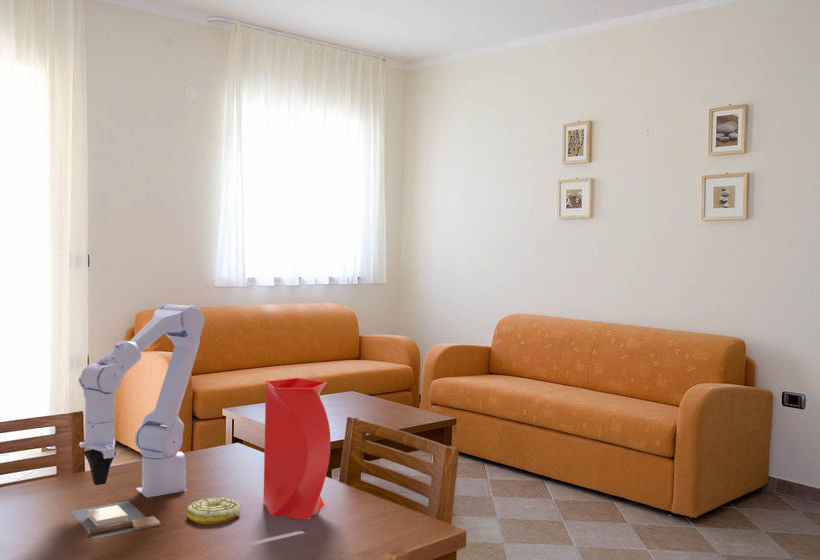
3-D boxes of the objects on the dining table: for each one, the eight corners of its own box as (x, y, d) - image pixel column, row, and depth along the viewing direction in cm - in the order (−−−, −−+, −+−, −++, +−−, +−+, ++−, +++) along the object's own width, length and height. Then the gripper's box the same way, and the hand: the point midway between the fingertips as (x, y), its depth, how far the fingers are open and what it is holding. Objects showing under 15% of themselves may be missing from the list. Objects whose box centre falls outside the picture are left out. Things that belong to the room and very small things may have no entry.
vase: (337, 510, 163) (340, 385, 162) (285, 527, 152) (288, 393, 151) (295, 494, 173) (297, 375, 172) (242, 508, 163) (245, 382, 162)
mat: (128, 503, 164) (128, 500, 164) (155, 528, 150) (155, 526, 150) (70, 514, 157) (70, 511, 157) (93, 541, 142) (93, 538, 142)
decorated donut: (249, 520, 157) (250, 502, 157) (205, 533, 149) (205, 514, 149) (222, 507, 164) (222, 490, 164) (178, 519, 156) (178, 501, 156)
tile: (117, 505, 157) (127, 514, 151) (117, 512, 157) (127, 522, 151) (87, 510, 153) (96, 520, 148) (87, 517, 153) (96, 528, 148)
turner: (153, 518, 154) (153, 512, 154) (160, 524, 150) (160, 518, 150) (87, 532, 146) (87, 525, 146) (93, 539, 142) (93, 532, 142)
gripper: (71, 416, 160) (71, 478, 160) (89, 430, 148) (88, 496, 149) (105, 412, 164) (105, 472, 165) (125, 425, 153) (124, 490, 153)
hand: (99, 483), depth 157 cm, fingers closed
